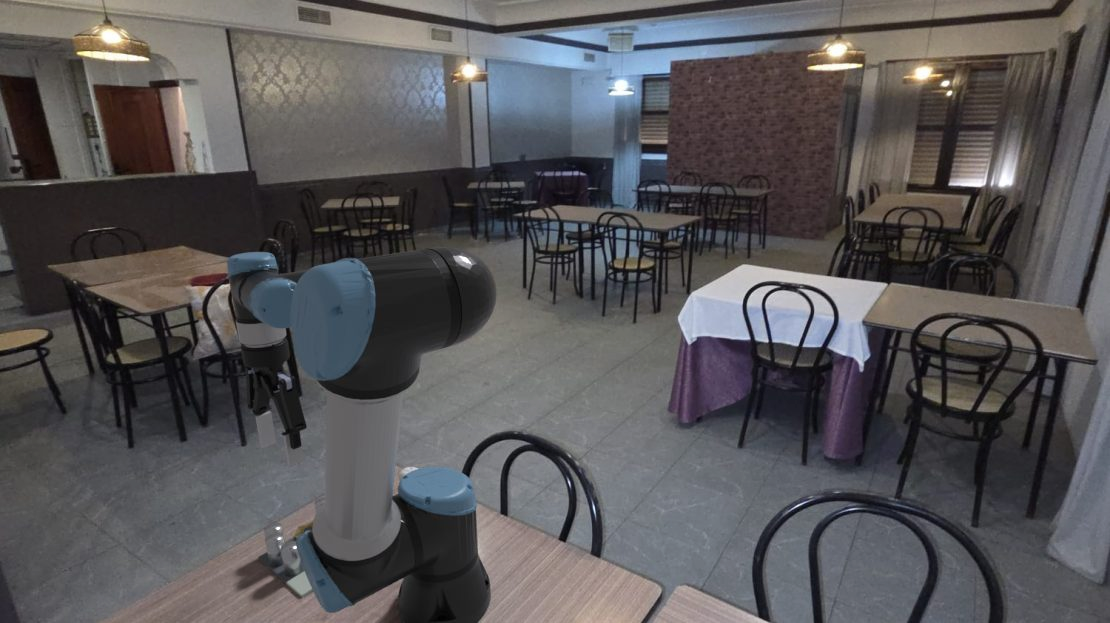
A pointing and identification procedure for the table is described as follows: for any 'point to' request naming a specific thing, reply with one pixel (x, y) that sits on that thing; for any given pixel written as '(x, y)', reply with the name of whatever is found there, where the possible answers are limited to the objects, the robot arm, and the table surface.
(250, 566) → the table surface
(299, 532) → the nut
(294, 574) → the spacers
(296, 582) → the mat
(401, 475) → the milkshake
